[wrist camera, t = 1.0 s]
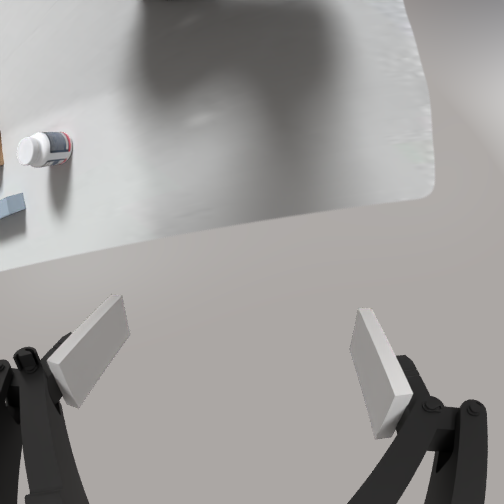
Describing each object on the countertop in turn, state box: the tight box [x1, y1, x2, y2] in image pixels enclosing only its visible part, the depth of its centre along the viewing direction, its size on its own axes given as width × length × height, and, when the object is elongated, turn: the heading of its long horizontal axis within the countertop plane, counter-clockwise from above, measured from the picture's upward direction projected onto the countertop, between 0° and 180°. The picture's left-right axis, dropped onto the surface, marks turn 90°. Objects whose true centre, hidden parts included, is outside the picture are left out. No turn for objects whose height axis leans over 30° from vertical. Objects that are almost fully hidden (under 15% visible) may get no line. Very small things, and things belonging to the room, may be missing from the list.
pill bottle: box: [17, 132, 72, 168], centre depth 35 cm, size 5×5×9 cm
